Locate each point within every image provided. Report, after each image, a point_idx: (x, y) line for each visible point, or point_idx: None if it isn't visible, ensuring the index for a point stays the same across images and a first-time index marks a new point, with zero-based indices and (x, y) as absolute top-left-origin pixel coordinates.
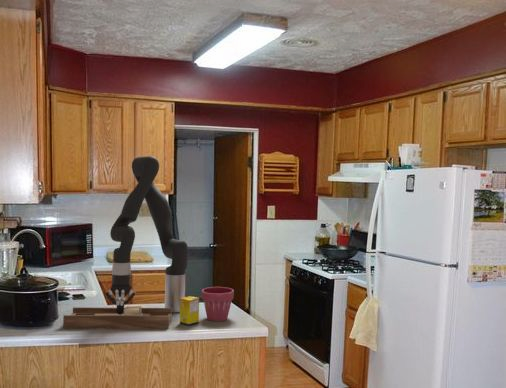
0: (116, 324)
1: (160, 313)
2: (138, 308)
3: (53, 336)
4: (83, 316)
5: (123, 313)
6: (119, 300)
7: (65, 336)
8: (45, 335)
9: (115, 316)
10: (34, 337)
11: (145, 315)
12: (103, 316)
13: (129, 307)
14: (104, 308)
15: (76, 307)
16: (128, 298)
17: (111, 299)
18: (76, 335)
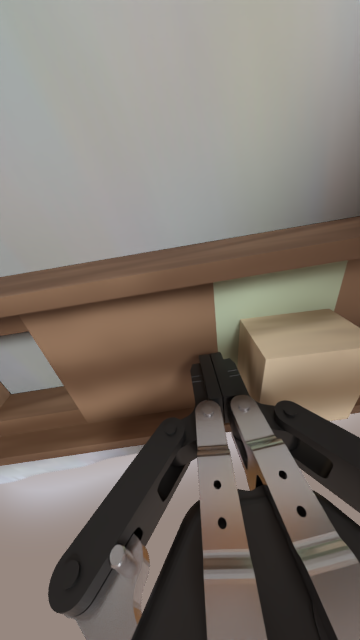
0: None
1: None
2: (350, 403)
3: (54, 465)
4: (61, 453)
5: (207, 287)
6: (219, 440)
7: (86, 460)
8: (24, 464)
9: None
10: (12, 477)
11: (355, 306)
12: None
13: (287, 395)
14: (49, 307)
15: None
16: (326, 484)
17: (160, 493)
18: (111, 451)
